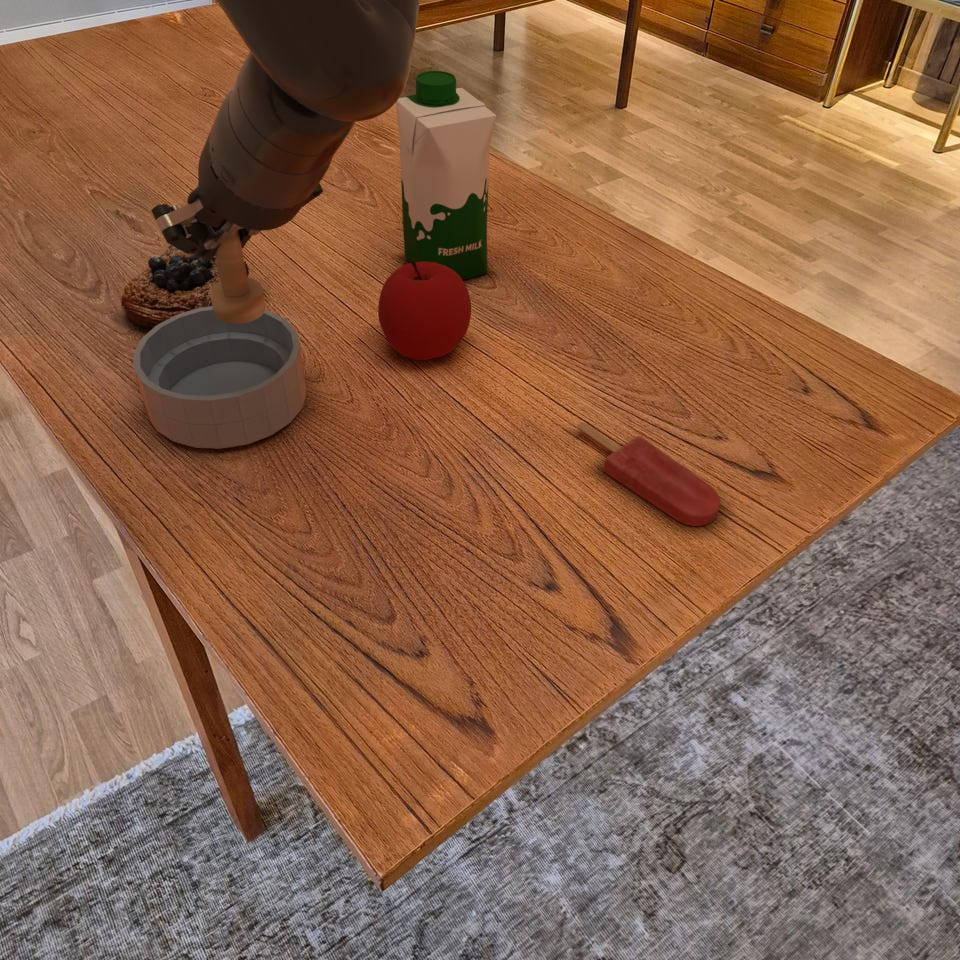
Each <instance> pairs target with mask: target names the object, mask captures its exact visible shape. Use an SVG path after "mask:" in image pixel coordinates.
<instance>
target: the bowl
mask: <svg viewBox="0 0 960 960" xmlns="http://www.w3.org/2000/svg"><path fill="white" fill-rule="evenodd" d="M132 355H133V356H132V357H133V358H132V363H133V364H132V368H133V372H134V375H135V379H136V382H137V385H138V388H139V391H140V395H141V398H142V402H143V405H144V408H145V411H146V415H147V418H148V419H149V421H150V422H151V424H152V426H153V427H154V429H155V431H157V432H158V433H160V434H161V435H163V436H164V437H165V438H167V439H169V440H170V441H171V442H174V443H177V444H180V445H184V446H188V447H191V448H196V449H215V450H216V449H217V450H220V449H229V448H234V447H241V446H246V445H250V444H252V443H255V442H258V441H260V440H263V439H266V438H268V437H271V436H273V435H274V434H276V433H277V432H279V431H281V430H282V429H283V428H285V427H286V426H288V425H289V424H290V423H292V422H293V420H294V419H295V418H296V417H297V416H298V414H299V413H300V412H301V411H302V409H303V407H304V404H305V400H306V397H307V385H306V378H305V371H304V370H305V369H304V363H303V356H302V348H301V343H300V339H299V335H298V331H297V330H296V328H294V326H292V324H291V323H290V322H289V321H288V320H287V318H284V317H283V316H280V315H279V314H277V313H275V312H274V311H271V310H268V309H265V312H264V314H263V315H262V316H261V317H259V318H258V319H256V320H254V321H252V322H248V323H244V324H228V323H224V322H222V321H220V320H218V319H217V318H216V317H215V315H214V312H213V307H212V306H209V307H202V308H197V309H194V310H191V311H187V312H184V313H181V314H177V315H175V316H173V317H171V318H169V319H168V320H166V321H164V322H162V323H160V324H158V325H157V326H155V327H154V328H153V329H152V330H151V331H149V332H146V334H145V335H144V336H142V337H141V339H140V340H139V342H138V344H137V346H136V348H135V350H134V351H133V354H132Z"/></svg>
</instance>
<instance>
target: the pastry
mask: <svg viewBox="0 0 960 960" xmlns="http://www.w3.org/2000/svg"><path fill="white" fill-rule="evenodd" d="M167 247H168V248H166V250H165V251H164V252H163V253H162V254H160V256H155V255H154V256H153V257H150V258H149V259H148V261H147V265H148V267H146V268H145V269H144V270H143V271H142V273H140V274H137V275H136V276H135V277H134V278H132V279H131V280H129V281H128V284H127V285H125V286H124V287H123V293H122V295H121V298H120V300H121V301H120V302H121V307H123V309H124V310H125V311H126V312H125V313H126V314H125V315H126V318H127V319H128V320H129V322H131V323H132V324H133V326H135V327H136V328H138V329H139V330H141V331H142V332H145V333H148V332H149V331H151V330H152V329H153V328H154V327H155V326H157V325H158V324H160V323H162V322H164V321H166V320H168V319H169V318H171V317H173V316H175V315H177V314H181V313H184V312H187V311H191V310H194V309H197V308H202V307H209V306H212V302H211V298H210V290H211V288H212V287H213V286H214V285H215V284H216V283H218V282H220V276H219V271H218V266H217V261H216V257H215V255H214V257H213V259H210V260H207V261H203V260H202V258H201V257H199V258H197V257H196V255H195V253H189V254H186V253H185V252H183V251H181V250H179V249H178V248H176V247H174V246H172V245H170V244H169V245H168V246H167ZM244 263H245V268H246V274H247V278H249V274H250V268H249V266H248V263H247V261H246V260H244Z"/></svg>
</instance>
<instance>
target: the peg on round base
mask: <svg viewBox="0 0 960 960" xmlns="http://www.w3.org/2000/svg"><path fill="white" fill-rule="evenodd" d="M215 257H216V261H217V266H218V271H219V276H220V282H218V283H216V284H215V285H214V286H213V287H212V288H211V290H210V298H211V302H212V307H213V312H214V315H215V317H216V318H217V319H218V320H220V321H222V322H224V323H228V324H244V323H248V322H252V321H254V320H256V319H258V318H259V317H261V316H262V315H263V314H264V312H265V310H267V306H266V301H265V300H266V299H265V295H264V289H263V286H262V284H261V283H260V281H258V280H257V279H255V278H251V277H248V278H247V274H246V268H245V263H244V261H245V258H244V252H243V249H242V247H241V241H240V236H239V230H238V231H237V232H236V233H235V235H234V236H233V237H232V239H230V240H227V241H223V242H221V243H220V246H219V248H218V250H217V251H216V253H215Z"/></svg>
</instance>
